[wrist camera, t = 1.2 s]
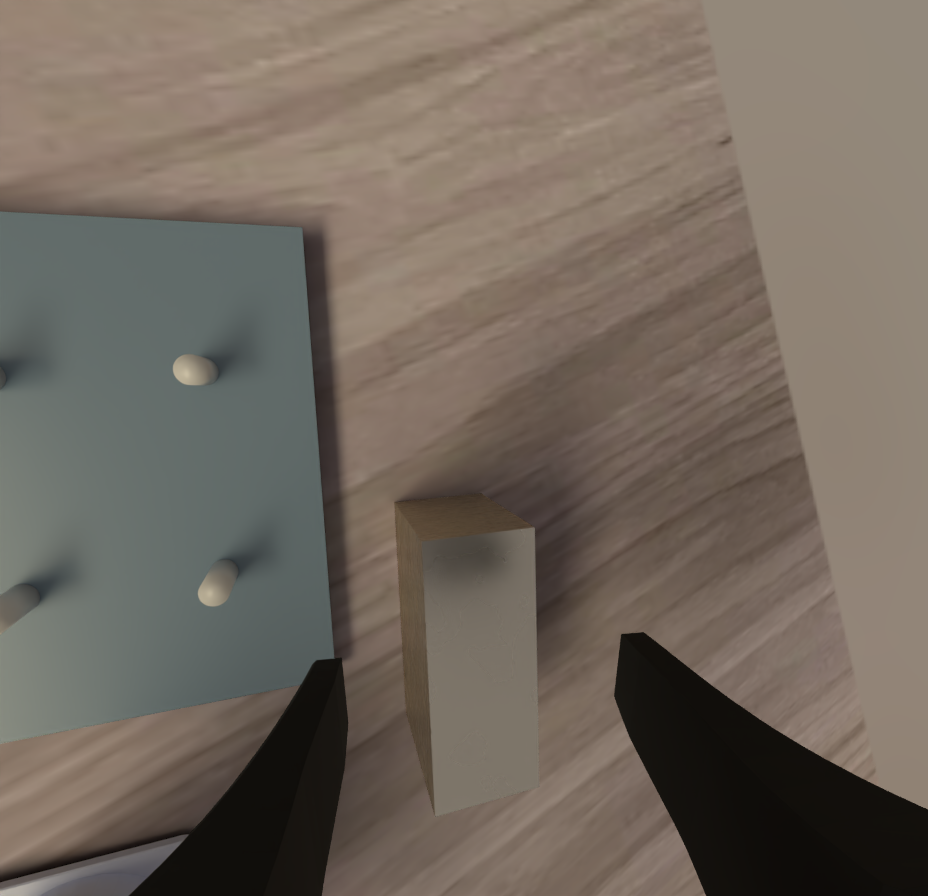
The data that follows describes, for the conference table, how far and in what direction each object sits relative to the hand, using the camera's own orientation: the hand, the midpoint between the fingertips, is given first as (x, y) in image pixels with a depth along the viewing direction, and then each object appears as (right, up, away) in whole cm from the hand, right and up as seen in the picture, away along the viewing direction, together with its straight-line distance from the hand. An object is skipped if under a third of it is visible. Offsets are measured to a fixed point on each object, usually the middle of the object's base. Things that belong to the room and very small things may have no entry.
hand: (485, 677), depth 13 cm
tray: (-13, +5, +6) cm, 15 cm away
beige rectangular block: (-2, -1, +10) cm, 11 cm away
